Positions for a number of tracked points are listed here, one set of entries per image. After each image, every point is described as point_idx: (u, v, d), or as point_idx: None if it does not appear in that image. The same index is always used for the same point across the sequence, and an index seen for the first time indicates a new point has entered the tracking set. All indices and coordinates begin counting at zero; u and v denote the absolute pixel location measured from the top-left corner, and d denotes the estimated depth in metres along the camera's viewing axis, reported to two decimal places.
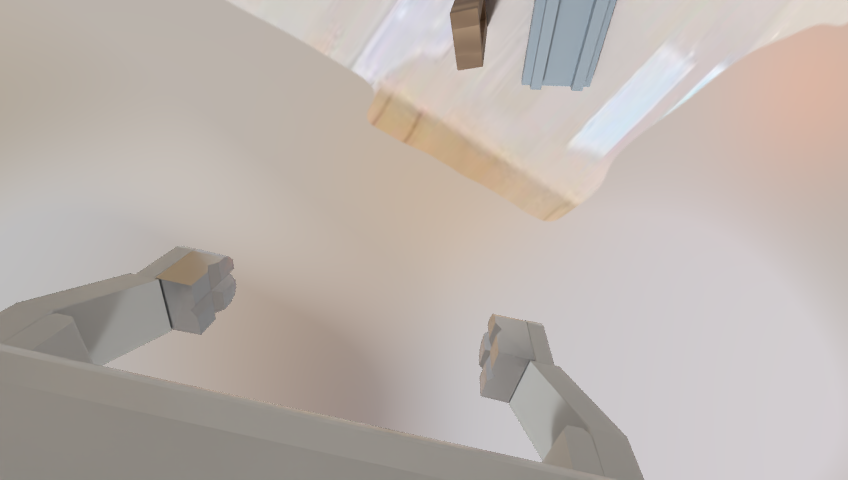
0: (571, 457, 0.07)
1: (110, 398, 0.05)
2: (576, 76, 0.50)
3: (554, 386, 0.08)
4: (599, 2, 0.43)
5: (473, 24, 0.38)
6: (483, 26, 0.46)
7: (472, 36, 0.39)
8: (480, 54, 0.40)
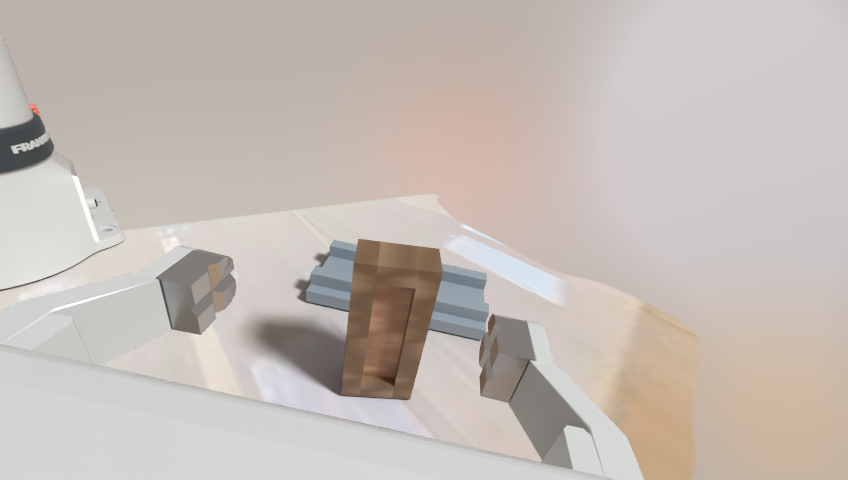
0: (571, 457, 0.07)
1: (110, 397, 0.05)
2: (470, 276, 0.43)
3: (554, 386, 0.08)
4: None
5: (378, 245, 0.25)
6: None
7: (394, 249, 0.25)
8: (421, 247, 0.26)
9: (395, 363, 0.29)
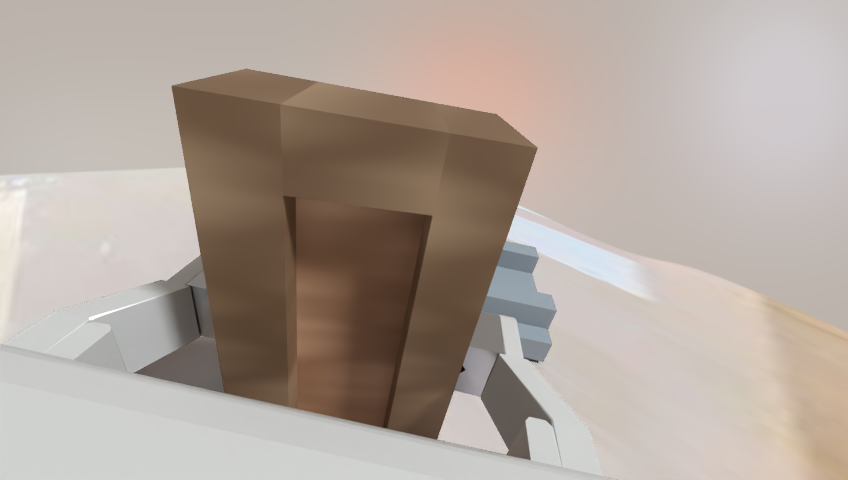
0: (530, 448, 0.07)
1: (111, 398, 0.05)
2: (511, 251, 0.26)
3: (520, 379, 0.08)
4: None
5: (306, 83, 0.08)
6: None
7: (358, 95, 0.08)
8: (445, 106, 0.08)
9: None
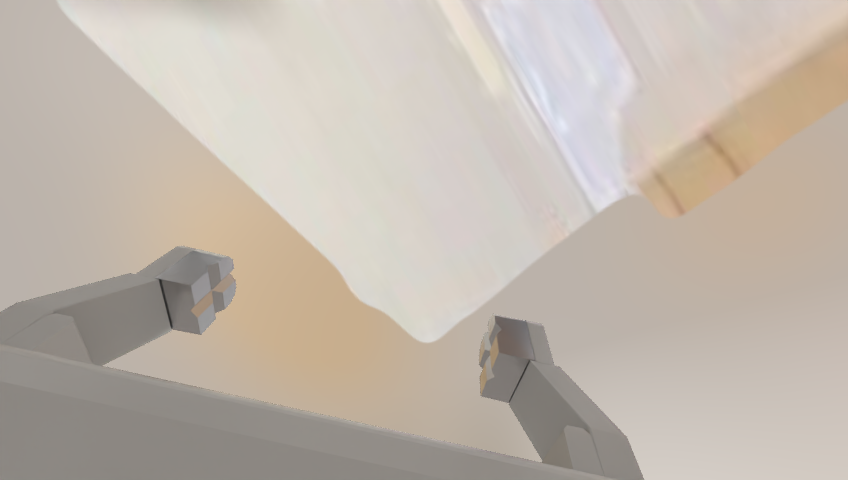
0: (571, 457, 0.07)
1: (111, 398, 0.05)
2: None
3: (554, 386, 0.08)
4: None
5: None
6: None
7: None
8: None
9: None
